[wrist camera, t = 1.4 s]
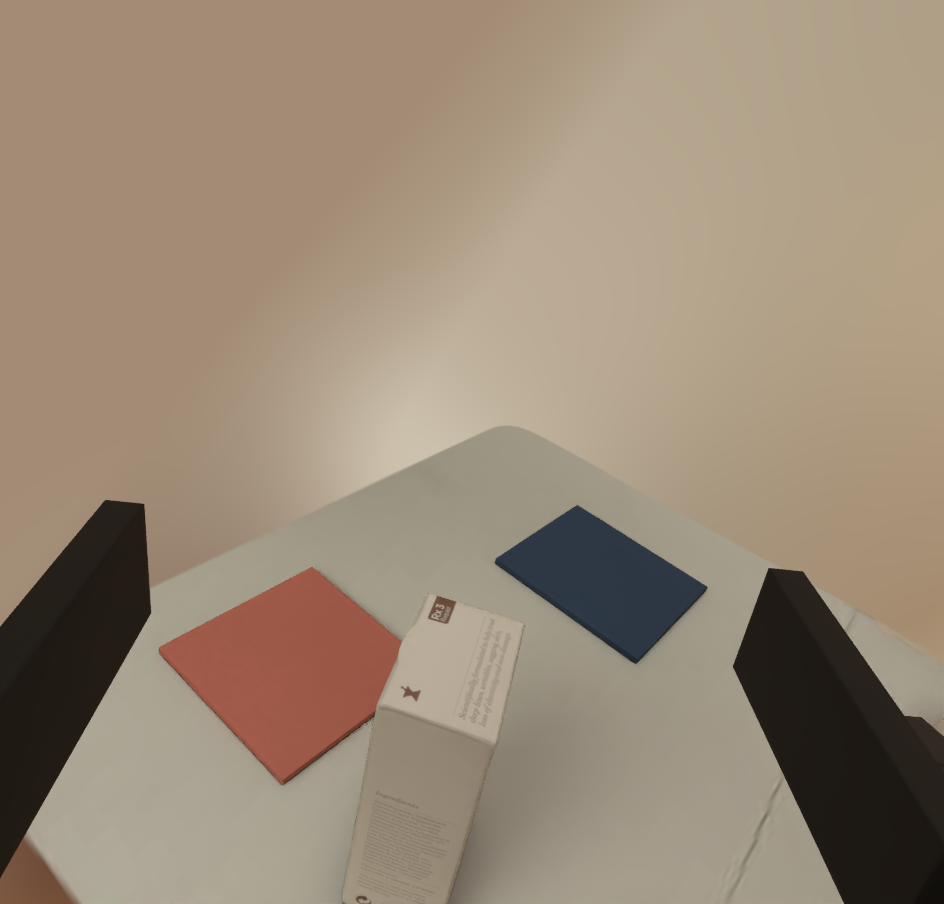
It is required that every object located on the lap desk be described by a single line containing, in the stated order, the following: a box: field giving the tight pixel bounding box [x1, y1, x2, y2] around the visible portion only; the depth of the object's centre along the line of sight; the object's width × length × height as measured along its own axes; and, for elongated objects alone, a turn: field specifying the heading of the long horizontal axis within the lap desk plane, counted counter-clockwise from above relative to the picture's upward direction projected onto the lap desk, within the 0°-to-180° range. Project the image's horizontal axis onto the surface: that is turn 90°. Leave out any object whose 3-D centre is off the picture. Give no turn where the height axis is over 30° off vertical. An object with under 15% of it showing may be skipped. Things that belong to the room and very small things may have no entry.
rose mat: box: [159, 567, 402, 784], centre depth 40 cm, size 10×10×1 cm
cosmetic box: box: [342, 594, 525, 904], centre depth 30 cm, size 6×4×12 cm
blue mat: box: [495, 505, 707, 663], centre depth 51 cm, size 11×10×1 cm
